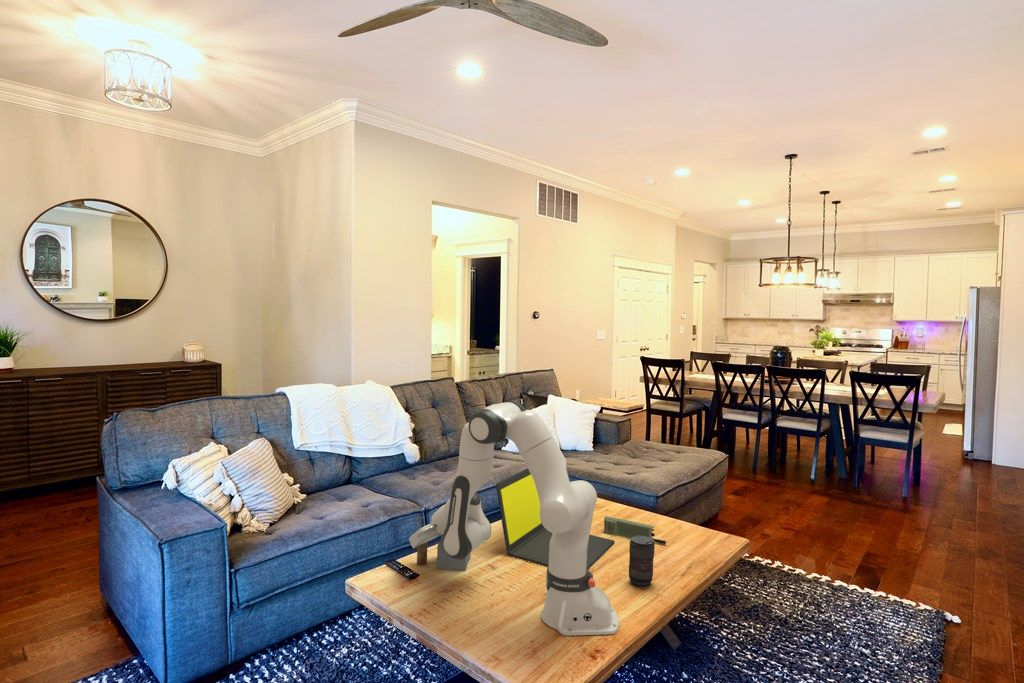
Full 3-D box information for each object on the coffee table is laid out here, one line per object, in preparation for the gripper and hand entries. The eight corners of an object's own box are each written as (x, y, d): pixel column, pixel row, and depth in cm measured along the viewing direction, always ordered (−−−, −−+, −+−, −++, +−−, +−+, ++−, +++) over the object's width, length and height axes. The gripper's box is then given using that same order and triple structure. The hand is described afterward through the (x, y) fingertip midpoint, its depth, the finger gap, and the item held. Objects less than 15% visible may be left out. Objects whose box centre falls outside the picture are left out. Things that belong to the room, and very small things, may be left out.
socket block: (470, 558, 203) (470, 536, 203) (465, 570, 193) (466, 547, 193) (442, 556, 204) (443, 534, 204) (436, 568, 194) (437, 545, 194)
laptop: (581, 577, 192) (584, 501, 190) (493, 553, 209) (495, 483, 208) (614, 544, 221) (617, 477, 219) (535, 524, 238) (537, 463, 236)
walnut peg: (427, 561, 199) (428, 534, 199) (425, 566, 196) (426, 538, 195) (418, 560, 200) (418, 533, 199) (415, 565, 196) (416, 537, 196)
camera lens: (657, 583, 188) (659, 539, 188) (644, 591, 182) (647, 546, 182) (636, 575, 194) (637, 532, 193) (623, 583, 188) (625, 539, 187)
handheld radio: (606, 530, 233) (666, 544, 221) (603, 533, 231) (664, 547, 219) (606, 515, 233) (667, 527, 221) (603, 517, 230) (665, 530, 218)
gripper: (428, 539, 181) (406, 560, 187) (468, 520, 198) (447, 540, 204) (418, 522, 183) (396, 543, 190) (459, 505, 200) (438, 525, 206)
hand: (423, 541), depth 197 cm, fingers open, 8 cm apart
